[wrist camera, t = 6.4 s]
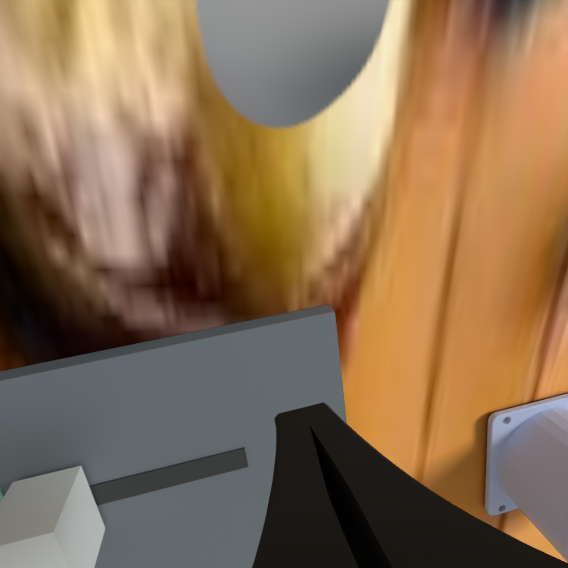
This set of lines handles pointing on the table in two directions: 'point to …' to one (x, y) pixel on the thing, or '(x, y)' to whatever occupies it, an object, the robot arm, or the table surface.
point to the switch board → (173, 432)
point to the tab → (50, 522)
